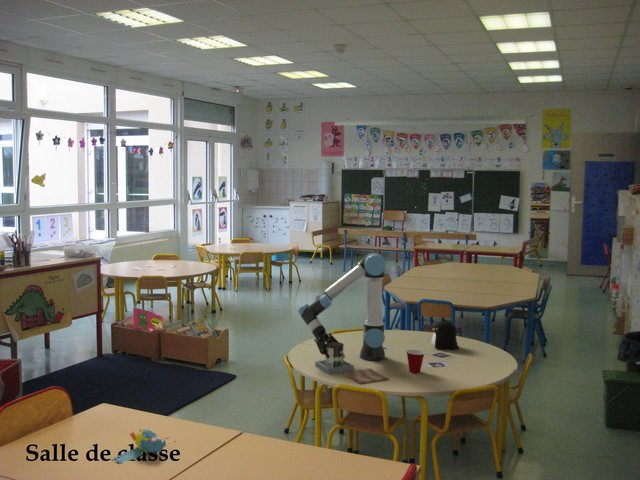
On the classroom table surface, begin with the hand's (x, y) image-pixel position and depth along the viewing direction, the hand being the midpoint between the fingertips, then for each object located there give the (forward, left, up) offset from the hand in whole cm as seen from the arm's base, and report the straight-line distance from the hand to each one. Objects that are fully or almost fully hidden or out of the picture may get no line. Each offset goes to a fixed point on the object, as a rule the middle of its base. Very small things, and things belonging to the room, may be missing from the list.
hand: (338, 360), depth 353 cm
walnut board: (-7, +18, -5) cm, 20 cm away
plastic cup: (-37, +22, -6) cm, 43 cm away
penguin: (-85, -11, -6) cm, 86 cm away
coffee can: (+1, -3, -6) cm, 6 cm away
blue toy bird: (+119, +60, -6) cm, 134 cm away
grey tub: (+1, -3, -5) cm, 6 cm away
